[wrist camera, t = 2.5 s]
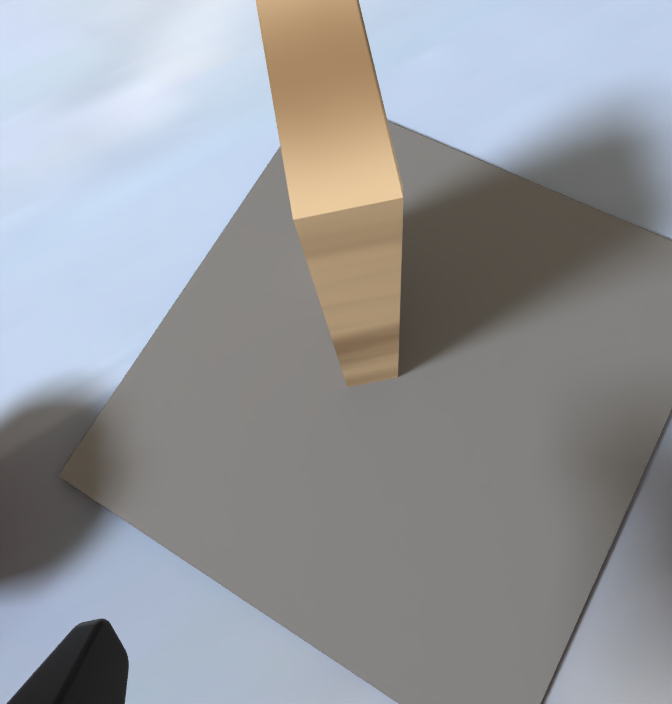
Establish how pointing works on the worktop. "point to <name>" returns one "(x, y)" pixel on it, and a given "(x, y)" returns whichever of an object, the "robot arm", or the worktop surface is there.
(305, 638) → the mat
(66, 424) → the worktop surface
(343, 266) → the board
